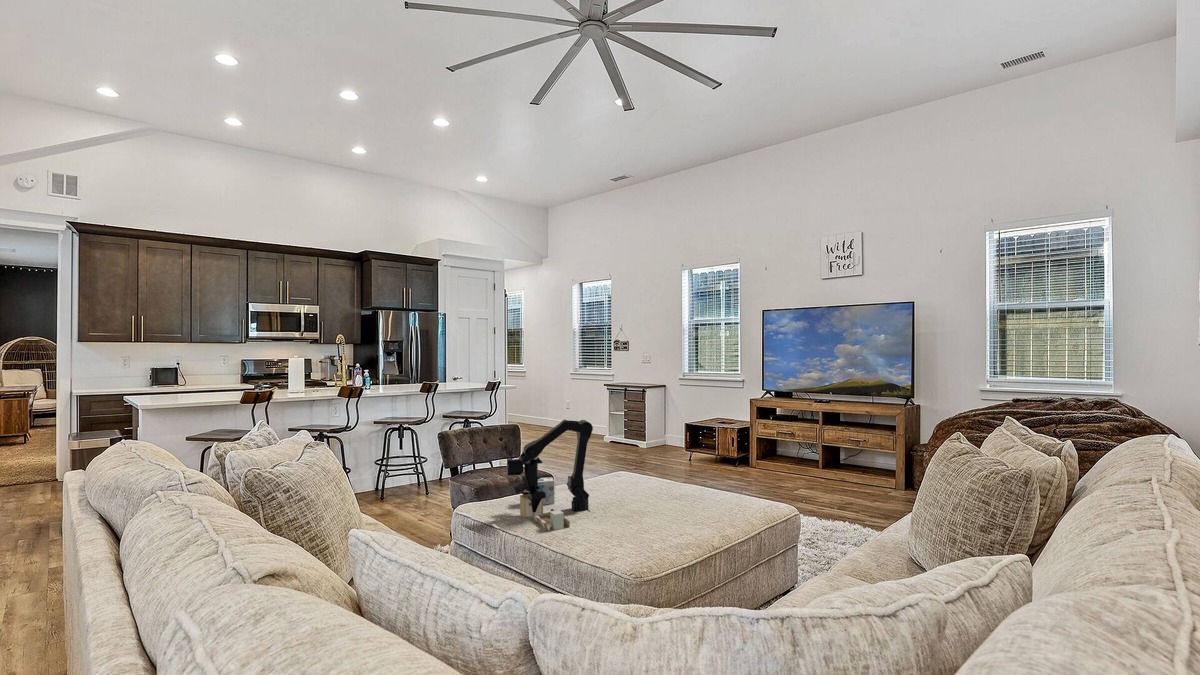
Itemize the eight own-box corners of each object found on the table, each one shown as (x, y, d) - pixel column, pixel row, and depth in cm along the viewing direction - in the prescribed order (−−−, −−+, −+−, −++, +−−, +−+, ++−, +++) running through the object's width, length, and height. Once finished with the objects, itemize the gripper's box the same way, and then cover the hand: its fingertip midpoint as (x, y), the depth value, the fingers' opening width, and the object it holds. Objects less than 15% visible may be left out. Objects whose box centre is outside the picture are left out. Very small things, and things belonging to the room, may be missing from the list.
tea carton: (539, 513, 256) (538, 492, 256) (543, 516, 252) (543, 495, 252) (520, 516, 253) (519, 495, 252) (524, 519, 248) (523, 498, 248)
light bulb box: (532, 506, 267) (531, 482, 267) (529, 501, 273) (529, 478, 273) (555, 504, 270) (555, 480, 269) (552, 499, 276) (552, 476, 276)
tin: (559, 525, 238) (559, 509, 237) (563, 528, 234) (563, 512, 234) (550, 527, 236) (550, 511, 236) (554, 530, 232) (554, 514, 232)
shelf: (569, 529, 235) (569, 521, 235) (547, 533, 231) (547, 524, 231) (552, 516, 251) (552, 508, 251) (531, 520, 247) (531, 512, 247)
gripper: (506, 471, 257) (506, 507, 257) (520, 481, 240) (520, 519, 240) (530, 468, 262) (531, 503, 262) (545, 478, 245) (546, 515, 245)
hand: (531, 510), depth 252 cm, fingers open, 6 cm apart
